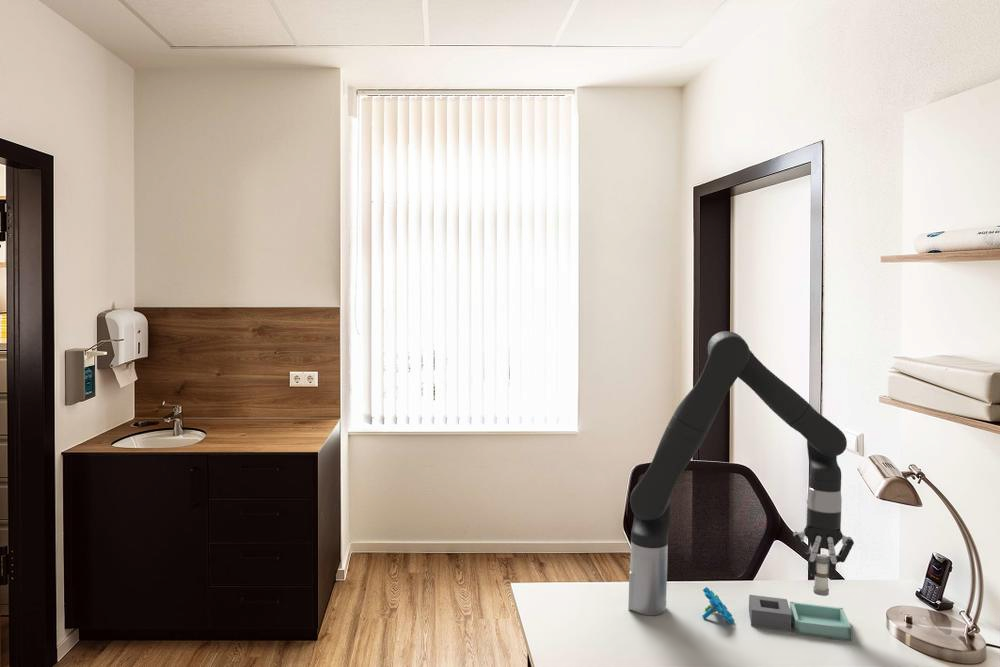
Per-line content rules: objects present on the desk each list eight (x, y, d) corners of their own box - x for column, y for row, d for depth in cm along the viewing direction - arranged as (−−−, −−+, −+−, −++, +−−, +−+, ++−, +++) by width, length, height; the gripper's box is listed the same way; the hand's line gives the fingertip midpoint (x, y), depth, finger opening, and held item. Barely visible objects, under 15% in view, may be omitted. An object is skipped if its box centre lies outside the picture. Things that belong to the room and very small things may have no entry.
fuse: (814, 594, 172) (815, 558, 171) (812, 589, 175) (813, 553, 175) (829, 596, 171) (830, 559, 170) (827, 590, 174) (828, 554, 174)
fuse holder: (751, 625, 174) (751, 609, 173) (748, 609, 182) (749, 594, 182) (790, 630, 171) (791, 614, 171) (786, 614, 180) (786, 599, 180)
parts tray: (795, 633, 170) (795, 621, 170) (789, 613, 181) (790, 601, 180) (851, 641, 167) (851, 628, 166) (842, 619, 177) (842, 608, 177)
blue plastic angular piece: (737, 625, 170) (707, 591, 173) (718, 640, 171) (688, 606, 174) (735, 611, 181) (706, 579, 183) (717, 626, 182) (689, 594, 184)
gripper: (794, 508, 170) (792, 579, 171) (859, 514, 166) (856, 586, 167) (790, 499, 177) (788, 567, 178) (852, 504, 173) (850, 573, 174)
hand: (821, 576), depth 173 cm, fingers closed on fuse, 3 cm apart
